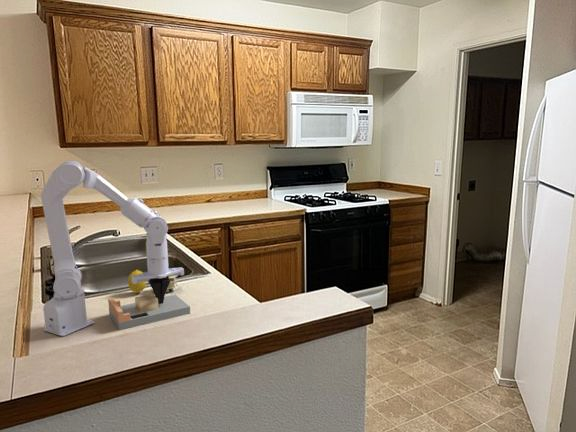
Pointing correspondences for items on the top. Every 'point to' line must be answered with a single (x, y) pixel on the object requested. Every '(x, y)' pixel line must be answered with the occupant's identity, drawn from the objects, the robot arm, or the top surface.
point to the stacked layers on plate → (172, 283)
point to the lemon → (138, 286)
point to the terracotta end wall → (118, 311)
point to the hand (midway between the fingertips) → (160, 302)
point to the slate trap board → (152, 312)
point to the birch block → (146, 303)
